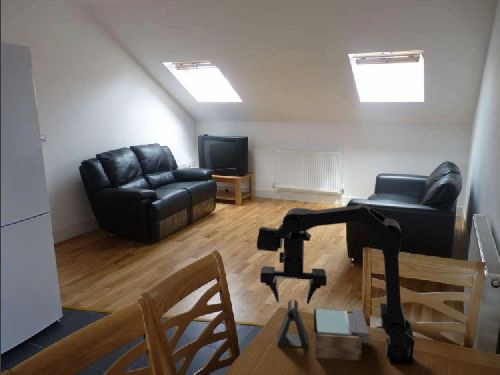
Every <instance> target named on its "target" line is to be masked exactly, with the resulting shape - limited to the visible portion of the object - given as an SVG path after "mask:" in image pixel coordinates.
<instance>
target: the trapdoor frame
mask: <svg viewBox="0 0 500 375" xmlns="http://www.w3.org/2000/svg"><path fill="white" fill-rule="evenodd" d="M316 309H317V308H314V309H313V330H314V331H317V320H316ZM323 309H324V310H335V309H332V308H329V309H328V308H323ZM338 310H339V311H347V313H352V310H353V309H351V310H350V309H348V310H347V309H338ZM314 343H315V348H314V352H315V353H314V357H315V358H318V359H319V358H320V359H333V360H334V359H335V360H346V361H347V360H349V361H361V360H362V345H363V342H362V336H356V335H355V334H352V336H346V335H329V334H317V333H315V342H314Z"/></svg>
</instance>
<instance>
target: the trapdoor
mask: <svg viewBox="0 0 500 375" xmlns="http://www.w3.org/2000/svg"><path fill="white" fill-rule="evenodd" d="M315 309H316V320H317V330H316V334H329V335H346V336H352V334H355V335H356V336H362V344H363V343H366V344H368V343H369V339H370V332H369V328H368V324H367V322H366V318H365V315H364V311H363V310H362V309H351V310H352V313H347V311H339V310H340V309H334V310H324V309H325V308H315Z"/></svg>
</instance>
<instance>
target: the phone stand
mask: <svg viewBox="0 0 500 375" xmlns="http://www.w3.org/2000/svg"><path fill="white" fill-rule="evenodd" d="M292 301H293V300H292V299H290V300H289V301H288V302H287V310H286V313H285V315H284V317H283V320H282V322H281V325H280V327H279V330H278V332H277V342H276V345H277V346H278V347H287V348H288V347H289V348H292V347H293V348H306V349H307V348H309V346H308V345H309V344H308V332H307V330H306V327H305V325H304V322H303V320H302V318H301V314H300V312H299V303H298V301H297V300H296V299H294V303H293V302H292ZM292 304H293V305H294V307H292V306H293V305H292ZM292 322H294V323H295V327H296V330H297V333H288V331H289V328H290V325H291V323H292Z"/></svg>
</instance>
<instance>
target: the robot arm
mask: <svg viewBox="0 0 500 375" xmlns="http://www.w3.org/2000/svg"><path fill="white" fill-rule="evenodd" d="M357 222H358V223H361V224H363V226H365V227H366V228H367V229H368V230H369V231H370V232H371V233H372V234H373V235H375V236H376V237H378V241H379V244H380V248H381V251H382V254H383V269H384V281H385V282H384V283H385V303H383V302H382V303H381V302H380V303H379V306H380V323H381V325H380V326H381V328H382V329H384V332H385V334H386V335H387V336H388V337H387V338H386V339H385V348H384V351H385V355H386V357H387V358H388V361H389V363H390V364H394V365H410V366H414V365H415V361H414V351H415V350H414V349H415V343H416V341H415V337H414V332H413V327H412V324H411V323H410V321H409V320H408V319H407V318H406V317H405V313H404V309H403V305H402V302H401V300H402V299H401V283H400V266H399V255H400V250H401V245H402V239H403V234H402V229H401V228H400V227H401V226H400V223H399V222H398V221H397V220H395V219H393V218H389V217H388V218H387V217H386V216H385V215H383V214H382V213H381V212H378V211H376V210H374V209H372V208H371V207H370V206H368V205H367V204H365V203H359V204H357V205H350V206H342V207H341V206H340V207H331V208H326V209H325V208H324V209H323V208H322V209H309V208H304V207H303V208H301V207H294V208H290V209H288V211H287V212H286V213H285V215H284V217H283V219H282V224H280V225H279V227H278V228H274V227H272V228H271V227H266V226H260V227H259V228H258V234H257V240H256V248H257V250H258V251H265V252H273V253H277V252H279V249H280V250H281V249H282V248H283V251H280V252H279V259H278V260H279V261H278V263H280V264H283V271H281V270H276V266H266V265H265V266H262V267H261V271H260V275H259V276H260V278H259V279H260V280H259V281H260V282H259V283H261V284H265V286H267V287H269V288H270V290H271V292H272V293H273V295H274V298H275V301H276V303H279V302H280V301H279V300H280V294H279V286H278V279H290V280H293V279H294V280H309V282H308V290H307V295H306V304H307V305H309V303H310V301H311V299H312V297H313V295H314V294H315V292H316V290H317V289H321V288H322V287H325V286H327V282H328V280H327V278H328V277H327V271H326V270H325V269H324V268H311V272H306V271H305V272H304V262H305V261H304V259H305V258H304V256H305V255H304V254H305V241H306V242H310V241H311V237H312V234H310V233H309V232H308V230H310V229H312V228H316V227H321V226H323V227H324V226H329V225H338V224H347V223H348V224H349V223H357Z"/></svg>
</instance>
